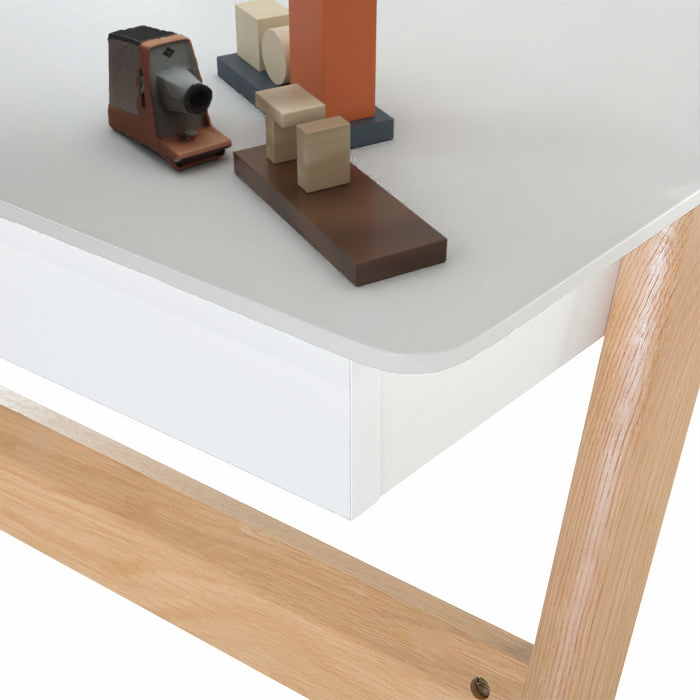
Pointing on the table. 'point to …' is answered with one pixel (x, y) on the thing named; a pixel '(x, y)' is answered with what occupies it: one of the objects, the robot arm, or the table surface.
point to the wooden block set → (279, 64)
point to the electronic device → (161, 96)
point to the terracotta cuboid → (335, 54)
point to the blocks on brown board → (332, 192)
